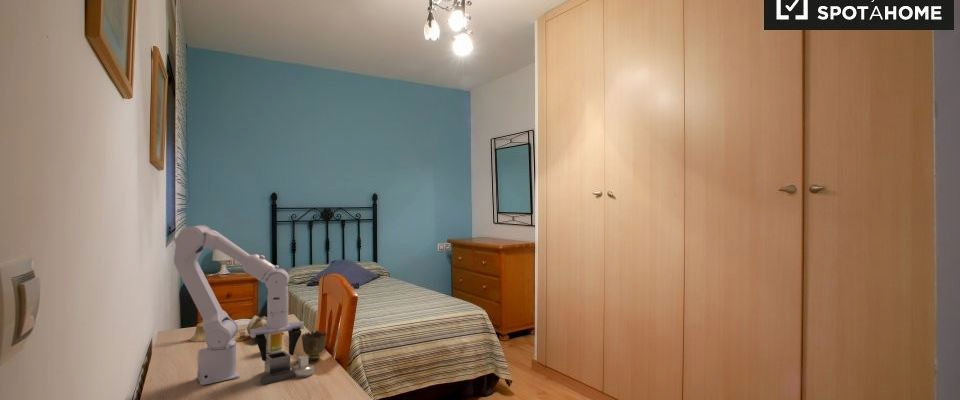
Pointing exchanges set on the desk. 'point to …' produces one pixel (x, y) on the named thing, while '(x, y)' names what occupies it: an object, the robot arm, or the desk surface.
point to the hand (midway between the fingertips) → (277, 357)
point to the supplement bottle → (274, 342)
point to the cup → (313, 344)
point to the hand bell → (199, 333)
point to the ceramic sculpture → (257, 323)
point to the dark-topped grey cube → (277, 362)
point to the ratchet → (290, 372)
